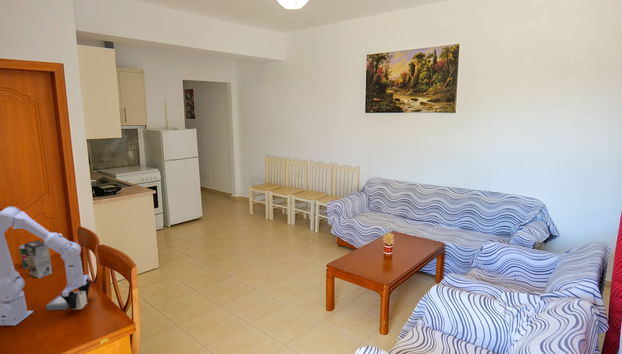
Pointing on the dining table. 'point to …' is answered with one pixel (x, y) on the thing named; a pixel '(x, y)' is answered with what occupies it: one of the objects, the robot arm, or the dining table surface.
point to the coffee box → (38, 258)
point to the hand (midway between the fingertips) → (79, 303)
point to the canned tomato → (23, 256)
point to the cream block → (80, 299)
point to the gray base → (57, 304)
